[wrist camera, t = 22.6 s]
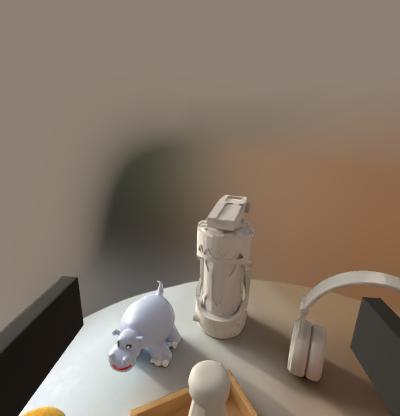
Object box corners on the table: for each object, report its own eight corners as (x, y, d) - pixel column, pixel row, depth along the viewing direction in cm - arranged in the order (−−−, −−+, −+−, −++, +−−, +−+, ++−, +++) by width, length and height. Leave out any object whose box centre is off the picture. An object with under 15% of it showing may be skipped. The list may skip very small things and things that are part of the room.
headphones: (430, 395, 38) (471, 283, 32) (453, 456, 31) (512, 324, 25) (291, 345, 46) (305, 249, 41) (283, 384, 39) (300, 273, 34)
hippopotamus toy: (89, 378, 39) (82, 328, 36) (139, 315, 53) (137, 275, 50) (150, 401, 36) (148, 347, 33) (187, 328, 50) (187, 286, 47)
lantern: (240, 347, 46) (251, 216, 39) (187, 331, 49) (188, 208, 42) (252, 304, 57) (262, 198, 50) (208, 294, 61) (212, 193, 54)
